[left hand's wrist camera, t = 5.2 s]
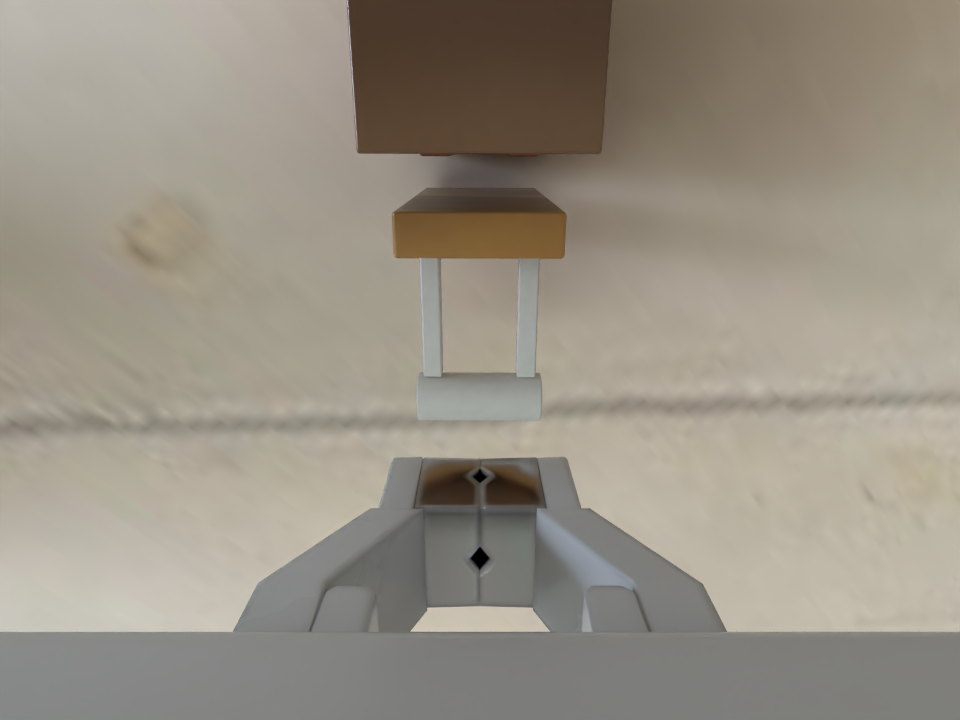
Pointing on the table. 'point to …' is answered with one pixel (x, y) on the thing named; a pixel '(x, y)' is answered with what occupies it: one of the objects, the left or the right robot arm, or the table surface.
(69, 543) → the table surface
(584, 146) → the cabinet
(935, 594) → the table surface
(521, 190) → the drawer
